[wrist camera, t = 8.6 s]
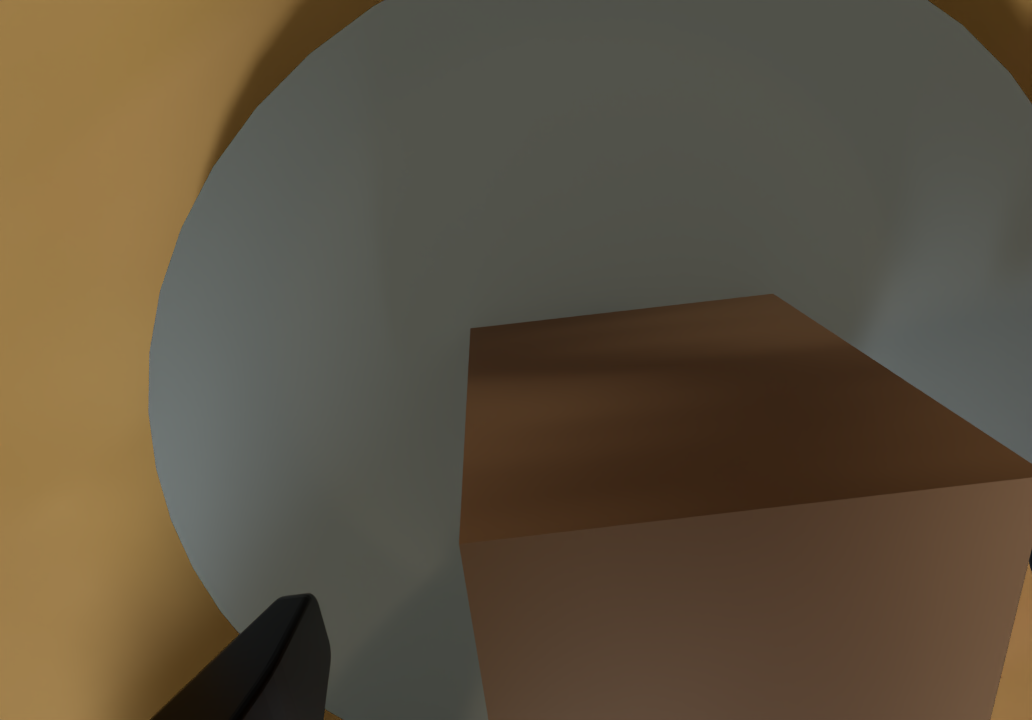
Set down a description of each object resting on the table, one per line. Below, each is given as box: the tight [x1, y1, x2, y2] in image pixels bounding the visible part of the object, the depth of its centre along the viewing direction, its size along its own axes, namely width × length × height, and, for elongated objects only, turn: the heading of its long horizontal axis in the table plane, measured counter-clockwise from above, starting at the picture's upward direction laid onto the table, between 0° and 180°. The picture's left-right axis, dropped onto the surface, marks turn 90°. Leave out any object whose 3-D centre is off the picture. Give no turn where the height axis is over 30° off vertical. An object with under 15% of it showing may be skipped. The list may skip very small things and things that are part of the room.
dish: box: [149, 0, 1032, 720], centre depth 11 cm, size 15×15×1 cm
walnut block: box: [459, 294, 1032, 720], centre depth 8 cm, size 4×4×5 cm
